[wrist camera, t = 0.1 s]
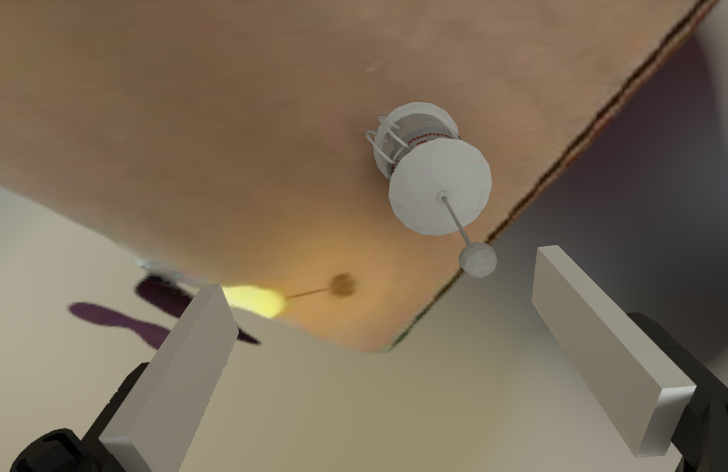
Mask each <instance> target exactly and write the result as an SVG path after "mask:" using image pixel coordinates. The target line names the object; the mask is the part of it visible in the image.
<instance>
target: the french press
mask: <svg viewBox="0 0 728 472" xmlns="http://www.w3.org/2000/svg"><path fill="white" fill-rule="evenodd" d="M377 118H378V121H379V122H380V123H381V124H380V126H379V128H378V130H377V132H376V133H375V132H374V131H371V130H367V131H366V137H367V139H368V140H369V141H370V142H371V144H372V145H373V146H374V150H373V154H374V157H375V160H376V163H377V166H378V169H379V170H380V171H381V172H382V173H383V174H384V176H385V177H386V178H387V179H388V182H389V184H390V187H389V194H388V197H389V200H390V203H391V206H392V209H393V213H394V214H395V215H396V217H397V218H398V219H399V220H400V221H401V222H402V223H403V224H404V225H405V227H407V228H409V229H412V230H414V231H416V232H418V233H420V234H424V235H440V236H441V235H445V234H448V233H452V232H455V231H460V232H461V234H462V236H463V238H464V240H465V242H466V244H467V247H465V248H464V249H463V250H462V252H461V253H460V256H459V263H460V266H461V267H462V268H463V269H464V271H465V272H466V273H467V274H468V275H469V276H471V277H485V276H487V275H488V274H490V273H491V272H492V271H494V269H495V266H496V263H497V259H496V255H495V252H494V250H493V249H492V248H491V247H490V246H489V245H487V244H485V243H482V242H475V243H472V244H471V242H470V240H469V238H468V237H467V235H466V233H465V231H464V229H463V228H464V227H465V226H466V225H468V224H469V223H471V222H472V221H474V220H475V219H476V218H477V217H478V215H479V214H480V212H481V211H482V210H483V208H484V207H485V206H486V204H487V202H488V198H489V195H490V191H491V187H492V180H491V173H490V167H489V164H488V163H487V161H486V160H485V159H484V157H483V156H482V154H481V153H480V151H479V150H478V149H476V148H475V147H473V146H471V145H469V144H468V143H466V142H464V141H462V140H461V138H460V136H459V134H458V129H457V125H456V124H455V122H454V121H453V120H452V118H451V117H450V115H449V114H448V113H447V111H445V110H443V109H441V108H439V107H438V106H436V105H434V104H432V103H423V102H412V103H409V104H406V105H403V106H400V107H397V108H396V109H395V110H393V111H392V112H391V113H390V114H389V115H388V116H387V117H384V116H381V115H378V116H377ZM382 119H383V120H382ZM369 133H371V134H373V135H375V138H374V142H373V141H372V139H371V138H370V136H369V135H368V134H369Z"/></svg>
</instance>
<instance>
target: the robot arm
mask: <svg viewBox="0 0 728 472" xmlns="http://www.w3.org/2000/svg"><path fill="white" fill-rule="evenodd" d="M532 303H533V305H534V306H535V308H536V309H537V311H538V312H539V314H540V315H541V316H542V318H543V320H544V321H545V323H546V324H547V326H548V327H549V329H550V330H551V332H552V333H553V335H554V336H555V338H556V339H557V341H558V342H559V344H560V345H561V347H562V348H563V350H564V351H565V353H566V354H567V356H568V357H569V359H570V360H571V362H572V363H573V365H574V366H575V368H576V369H577V371H578V372H579V374H580V375H581V377H582V378H583V380H584V381H585V383H586V384H587V386H588V387H589V389H590V390H591V392H592V393H593V395H594V396H595V398H596V399H597V401H598V402H599V403H600V405H601V407H602V408H603V410H604V411H605V413H606V414H607V416H608V417H609V419H610V420H611V422H612V423H613V425H614V426H615V428H616V429H617V431H618V432H619V434H620V435H621V437H622V438H623V440H624V441H625V443H626V444H627V446H628V447H629V449H630V450H631V452H632V453H633V455H634V456H635V457H637V458H638V457H650V456H664V455H665V454H666V452H667V450H668V448H669V446H670V443H671V442H672V443H673V444H674V445H675V447H676V448H677V449H678V450H679V452H680V453H681V454H682V455H683V456H682V458H681V460H680V462H679V464H678V466H677V468H676V470H675V472H728V388H727V387H726V386H725V385H724V384H723V383H722V382H721V381H720V380H719V379H718V378H717V377H715V376H714V375H713V374H712V373H711V372H710V371H709V370H708V369H707V368H706V367H705V366H704V365H702V364H701V363H700V362H699V361H698V360H697V359H696V358H695V357H694V356H693V355H692V354H691V353H690V352H689V351H687V350H686V349H683V347H682V345H681V344H680V343H679V342H678V341H677V340H675V338H672V337H671V335H670V334H669V333H668V332H667V331H666V330H665V329H664V328H663V327H662V326H661V325H659V324H658V323H657V322H656V321H654V320H652V319H650V318H648V317H647V316H645V315H643V314H641V313H639V312H636V313H626V314H625V313H624V312H623V311H622V310H621V309H620V308H619V307H618V306H617V305H616V304H615V303H614V302H613V301H612V300H611V299H610V298H609V297H608V296H607V295H606V294H605V293H604V292H603V291H602V290H601V289H600V288H599V287H598V286H597V285H596V284H595V283H594V282H593V281H592V280H591V279H590V278H589V277H588V276H587V275H586V274H585V273H584V272H583V271H582V270H581V269H580V268H579V266H578V265H576V264H575V262H574V261H573V260H572V259H571V258H570V257H568V255H566V253H565V252H564V251H563V250H562V249H561V248H560V247H559V246H558V245H555V246H546V247H538V250H537V259H536V268H535V277H534V285H533V294H532ZM238 334H239V331H238V328H237V326H236V323H235V321H234V318H233V315H232V313H231V310H230V308H229V305H228V303H227V300H226V298H225V295H224V293H223V290H222V287H221V285H220V283H217V284H208V285H202V286H201V288H200V289H199V291H198V292H197V294H196V295H195V297H194V298H193V300H192V301H191V303H190V304H189V305H188V307H187V308H186V310H185V311H184V313H183V314H182V316H181V317H180V319H179V320H178V322H177V323H176V325H175V326H174V328H173V329H172V331H171V332H170V333H169V335H168V336H167V338H166V339H165V341H164V342H163V344H162V345H161V347H160V348H159V350H158V351H157V353H156V354H155V356H154V357H153V359H152V360H151V362H147V363H141V364H140V365H139V366H138V367H137V368H136V369H135V370H134V371H132V372H131V373H130V374H129V375H128V376H127V377H126V379H125V380H124V381H123V383H122V384H121V386H120V387H119V388H118V392H116V393H115V394H114V395H113V397H112V398H111V400H110V403H109V404H107V405H106V407H105V408H104V409H103V411H102V412H101V413H100V415H99V416H98V418H97V419H96V420H95V422H94V423H93V425H92V426H91V427H90V429H89V430H88V432H87V433H86V434H85V436H84V437H83V439H82V440H81V441H80V440H79V439H78V437H77V436H76V435H75V434H74V432H73V431H72V430H69V429H66V428H63V429H58V430H54V431H51V432H50V433H47V434H45V435H43V436H41V437H40V438H38V439H37V440H35V441H34V442H32V443H31V444H30V445H29V446H28V447H26V449H24V450H23V451H22V452H21V453H20V454H19V456H18V457H17V458H16V460H15V461H14V462H13V464H12V466H11V469H10V472H178V471H179V469H180V467H181V464H182V462H183V460H184V457H185V455H186V453H187V450H188V448H189V446H190V444H191V441H192V439H193V437H194V435H195V432H196V430H197V428H198V425H199V423H200V421H201V419H202V416H203V414H204V412H205V409H206V407H207V405H208V402H209V400H210V398H211V395H212V393H213V391H214V389H215V386H216V384H217V382H218V380H219V377H220V375H221V373H222V370H223V368H224V366H225V363H226V361H227V359H228V357H229V354H230V352H231V350H232V347H233V345H234V343H235V341H236V338H237V336H238Z"/></svg>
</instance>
